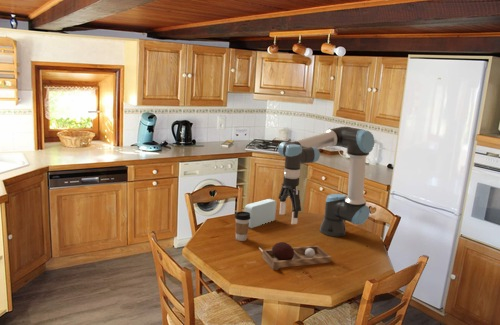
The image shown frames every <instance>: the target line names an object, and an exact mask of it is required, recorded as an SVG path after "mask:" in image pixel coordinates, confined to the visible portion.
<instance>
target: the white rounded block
mask: <svg viewBox="0 0 500 325" xmlns="http://www.w3.org/2000/svg"><path fill="white" fill-rule="evenodd" d="M276 210H277V200H275V199H271V198H267V199H263V200H260V201H259V200H258V201H256V202H251V203H247V204H246V205H245V206H244V212H249V213H250V219H249V227H248V229H253V228H256V227H259V226H263V225H266V224H268V222H269V223H271V221H272V222H273V221H275V220H276V213H277V212H276ZM265 223H266V224H265ZM262 224H263V225H262Z"/></svg>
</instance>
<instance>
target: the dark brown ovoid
mask: <svg viewBox="0 0 500 325" xmlns="http://www.w3.org/2000/svg"><path fill="white" fill-rule="evenodd" d="M293 248H294V247H292V245H291V244H289V243H287V242H284V241H280V242H276V243H275V244H274V245H273V246H272V248H271V249H272V252H273V254H274V256H275V257H276V258H277V259H279V260H281V261H282V260H291V259H292V258H293V256H294V250H293Z"/></svg>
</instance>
